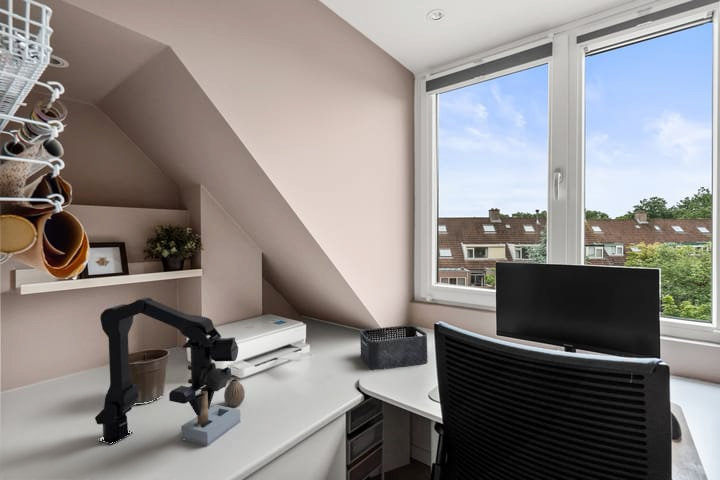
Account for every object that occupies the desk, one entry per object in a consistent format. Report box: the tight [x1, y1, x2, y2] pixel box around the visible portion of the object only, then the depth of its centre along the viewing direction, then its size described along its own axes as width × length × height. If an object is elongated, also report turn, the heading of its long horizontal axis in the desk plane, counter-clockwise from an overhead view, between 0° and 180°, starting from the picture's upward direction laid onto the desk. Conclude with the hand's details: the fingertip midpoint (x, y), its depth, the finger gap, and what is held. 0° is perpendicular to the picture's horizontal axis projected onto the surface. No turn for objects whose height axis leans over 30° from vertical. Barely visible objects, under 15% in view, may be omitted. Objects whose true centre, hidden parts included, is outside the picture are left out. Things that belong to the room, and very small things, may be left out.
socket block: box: [180, 404, 241, 447], centre depth 112 cm, size 10×14×4 cm
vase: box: [223, 378, 246, 408], centre depth 129 cm, size 7×7×9 cm
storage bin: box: [359, 324, 428, 371], centre depth 171 cm, size 29×19×13 cm
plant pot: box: [129, 348, 171, 403], centre depth 135 cm, size 16×16×16 cm
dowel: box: [196, 390, 208, 425], centre depth 109 cm, size 3×3×9 cm
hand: (202, 412), depth 109 cm, fingers closed on dowel, 3 cm apart
